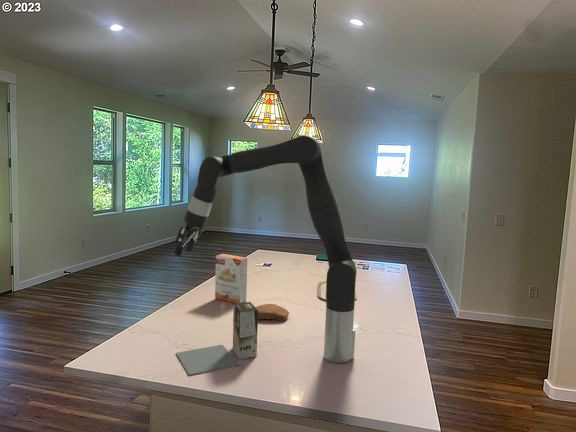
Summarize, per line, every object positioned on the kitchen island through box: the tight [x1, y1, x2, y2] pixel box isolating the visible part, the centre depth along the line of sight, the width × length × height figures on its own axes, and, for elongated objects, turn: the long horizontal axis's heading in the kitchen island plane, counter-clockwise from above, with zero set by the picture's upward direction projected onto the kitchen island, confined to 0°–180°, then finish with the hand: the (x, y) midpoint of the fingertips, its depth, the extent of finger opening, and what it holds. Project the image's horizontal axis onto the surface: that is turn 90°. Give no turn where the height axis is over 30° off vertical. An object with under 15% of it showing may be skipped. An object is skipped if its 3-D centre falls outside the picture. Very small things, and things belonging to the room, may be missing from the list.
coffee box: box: [232, 301, 259, 360], centre depth 141 cm, size 9×6×16 cm
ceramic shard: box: [255, 303, 290, 322], centre depth 175 cm, size 15×6×15 cm
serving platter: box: [317, 280, 357, 301], centre depth 214 cm, size 19×35×2 cm, turn 176°
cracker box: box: [214, 253, 248, 304], centre depth 194 cm, size 14×6×21 cm, turn 62°
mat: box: [175, 344, 240, 377], centre depth 136 cm, size 16×16×1 cm
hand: (182, 253), depth 148 cm, fingers open, 8 cm apart
